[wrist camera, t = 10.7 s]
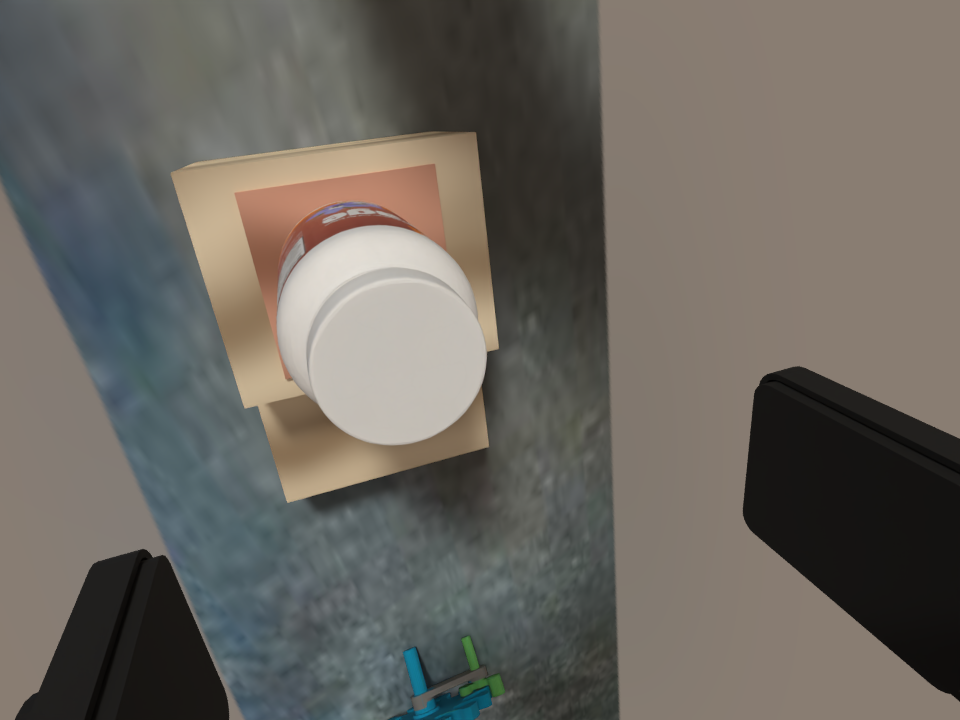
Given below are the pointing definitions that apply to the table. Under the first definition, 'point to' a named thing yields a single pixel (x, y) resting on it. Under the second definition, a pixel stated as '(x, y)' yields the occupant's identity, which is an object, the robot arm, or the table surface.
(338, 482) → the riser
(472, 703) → the gear
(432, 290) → the pill bottle
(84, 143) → the table surface
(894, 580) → the robot arm
